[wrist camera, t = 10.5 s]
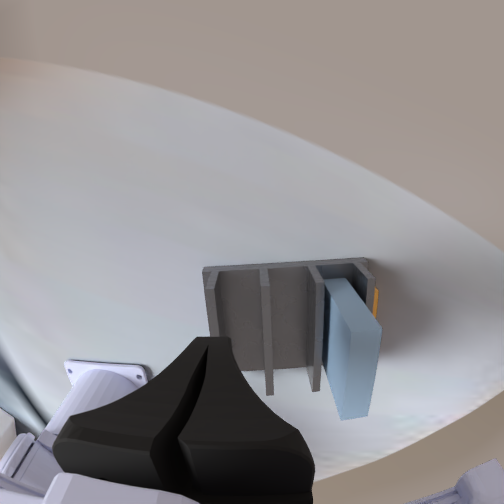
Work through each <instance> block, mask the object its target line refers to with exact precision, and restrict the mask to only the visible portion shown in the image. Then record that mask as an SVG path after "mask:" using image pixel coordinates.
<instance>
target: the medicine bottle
mask: <svg viewBox="0 0 504 504" xmlns="http://www.w3.org/2000/svg"><path fill="white" fill-rule="evenodd" d="M16 437H17V435H16V428H15V420H14V417H12V416H11V415H10V414H8V413H7V412H5V411H4V410H3V409H1V408H0V461H1V460H2V458H3V456H4V455H5V453H6V452H7V450H8V449H9V447H10V446H11V444H12V443H13V441H14V440H15V439H16Z"/></svg>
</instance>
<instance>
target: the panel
mask: <svg viewBox="0 0 504 504" xmlns="http://www.w3.org/2000/svg"><path fill="white" fill-rule="evenodd" d="M324 282H325V290H324V323H323V345H322V362H323V366H324V369H325V372H326V375H327V378H328V381H329V384H330V387H331V390H332V394H333V397H334V400H335V403H336V406H337V410H338V413H339V416H340V419H341V420H348V419H354V418H360V417H365V416H368V411H369V406H370V401H371V396H372V391H373V386H374V381H375V375H376V369H377V363H378V357H379V350H380V343H381V336H382V329H383V328H382V327H381V326H380V324H379V323H378V321H377V320H376V319H375V317H374V316H373V315H372V313H371V312H370V310H369V309H368V308H367V306H366V305H365V304H364V302H363V301H362V299H361V298H360V297H359V295H358V294H357V293H356V291H355V290H354V289H353V287H352V286H351V285H350V283H349V282H348V281H347V279H346V278H337V279H324Z"/></svg>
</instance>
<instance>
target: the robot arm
mask: <svg viewBox="0 0 504 504" xmlns="http://www.w3.org/2000/svg"><path fill="white" fill-rule="evenodd" d="M64 366H65V369H66V372H67V374H68V377H69V379H70V381H71V384H72V386H73V387H72V389H71V390H70V392H69V393H68V395H67V396H66V398H65V399H64V401H63V402H62V404H61V405H60V407H59V408H58V410H57V411H56V413H55V414H54V416H53V417H52V419H51V420H50V422H49V423H48V425H47V426H46V428H45V429H43V431H42V432H41V434H40V436H39V437H38V439H37V440H36V441H35V440H34V439H35V436H34V435H33V434H32V433H30V432H28V433H27V434H26V433H22V434H19V435H18V436H17V437H16V439H15V440H14V441H13V443H12V444H11V446H10V447H9V449H8V450H7V452H6V453H5V455H4V456H3V458H2V460H1V461H0V504H313V496H312V485H313V480H314V474H315V465H314V461H313V458H312V455H311V453H310V450H309V448H308V446H307V444H306V442H305V440H304V438H303V437H302V435H301V433H300V431H299V430H298V429H296V428H295V427H293V426H291V425H290V424H288V423H287V422H285V421H284V420H282V419H281V418H280V417H279V416H278V415H276V414H275V413H274V412H273V411H272V410H271V409H270V408H269V407H268V406H267V405H266V404H265V403H264V402H263V401H262V400H261V399H260V398H259V397H258V396H257V395H256V393H255V392H254V391H253V390H252V388H251V387H250V385H249V384H248V383H247V381H246V379H245V378H244V376H243V374H242V372H241V371H240V369H239V367H238V364H237V362H236V360H235V357H234V355H233V351H232V341H231V338H229V337H228V336H227V337H196V338H195V339H194V340H193V341H192V342H191V343H190V344H189V345H188V346H187V348H186V349H185V350H184V351H183V352H182V353H181V354H180V355H179V356H178V357H177V358H176V359H175V360H174V361H173V362H172V363H171V364H170V365H169V366H168V367H167V368H165V369H164V370H163V371H162V372H161V373H160V374H159V375H157V376H156V377H155V378H153V379H152V380H151V381H149V382H148V380H147V377H146V373H145V370H144V368H143V367H142V366H139V365H124V364H108V363H94V362H83V361H72V360H66V361H65V363H64ZM70 369H71V370H72V371H71V370H70ZM138 375H141V376H142V377H140V376H138ZM405 504H504V470H503V468H502V467H501V465H500V464H499V462H498V461H497V459H496V458H495V459H492V460H489V461H487V462H485V463H483V464H481V465H478V466H476V467H474V468H472V469H470V470H468V471H467V472H465V473H464V474H463V475H462V476H461V477H460V478H459V480H458V482H457V483H456V485H455V486H454V487H452V488H449V489H446V490H444V491H441V492H439V493H435V494H433V495H430V496H427V497H424V498H421V499H418V500H414V501H411V502H408V503H405Z"/></svg>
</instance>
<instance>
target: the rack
mask: <svg viewBox="0 0 504 504" xmlns="http://www.w3.org/2000/svg"><path fill="white" fill-rule="evenodd" d="M202 275H203V283H204V292H205V300H206V308H207V315H208V323H209V331H210V337H227V336H228V337H229V338H231V341H232V351H233V355H234V357H235V360H236V362H237V364H238V367H239V369H240V371H253V370H265V381H266V396H269V395H274V385H273V369H286V368H298V367H306V368H307V372H308V376H309V380H310V384H311V389H312V392H317V391H320V378H321V365H323V362H322V345H323V323H324V290H325V282H324V279H337V278H346V279H347V281H348V282H349V283H350V285H351V286H352V287H353V289H354V290H355V291H356V293H357V294H358V295H359V297H360V298H361V299H362V301H363V302H364V304H365V305H366V306H367V308H368V309H369V310H370V312H371V313H372V315H373V316H374V317H375V319H376V314H377V304H378V293H379V290H378V289H377V288H376V287H375V280H376V278H375V277H374V276H373V275H372V274H371V273H370V272H369V271H368V261H367V260H366V259H365V258H364V257H363V258H348V259H333V260H317V261H301V262H285V263H268V264H251V265H233V266H215V267H204V269H203V271H202Z"/></svg>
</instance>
